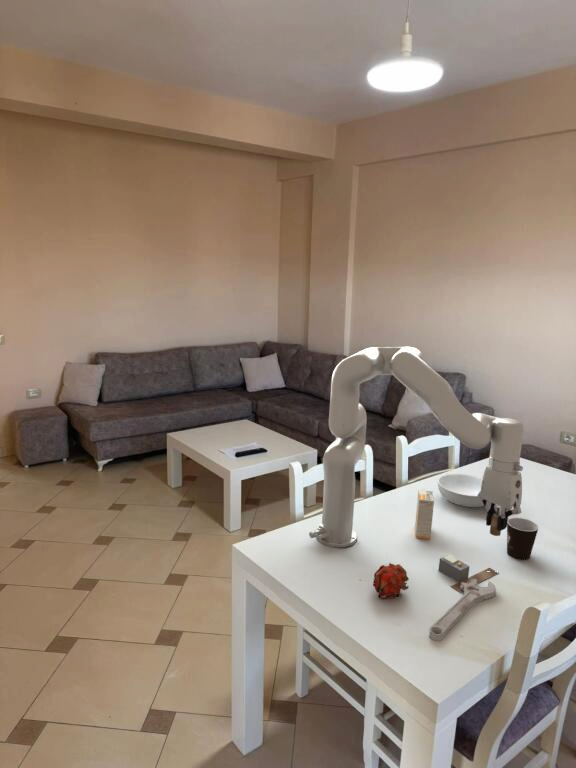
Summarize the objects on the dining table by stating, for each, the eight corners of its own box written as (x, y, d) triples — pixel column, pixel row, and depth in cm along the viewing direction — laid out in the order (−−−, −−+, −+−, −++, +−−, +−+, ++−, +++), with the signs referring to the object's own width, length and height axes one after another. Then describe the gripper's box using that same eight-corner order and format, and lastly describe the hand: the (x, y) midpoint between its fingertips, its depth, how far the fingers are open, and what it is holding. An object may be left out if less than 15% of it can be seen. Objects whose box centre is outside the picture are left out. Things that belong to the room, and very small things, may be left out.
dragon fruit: (404, 589, 146) (380, 615, 138) (382, 564, 149) (357, 588, 140) (421, 575, 140) (397, 602, 132) (398, 549, 143) (373, 574, 135)
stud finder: (458, 583, 147) (460, 568, 146) (438, 571, 153) (439, 556, 152) (467, 579, 149) (469, 564, 148) (447, 567, 155) (449, 552, 154)
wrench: (417, 624, 126) (470, 572, 148) (416, 631, 127) (469, 578, 149) (449, 641, 121) (499, 585, 143) (448, 648, 122) (498, 591, 144)
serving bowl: (500, 498, 201) (503, 481, 200) (487, 520, 184) (490, 501, 183) (445, 485, 212) (447, 468, 211) (428, 504, 195) (430, 486, 193)
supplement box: (430, 539, 169) (434, 501, 166) (415, 537, 170) (418, 499, 167) (429, 527, 177) (433, 490, 174) (414, 525, 178) (418, 488, 175)
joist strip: (459, 592, 143) (459, 591, 143) (450, 586, 145) (450, 586, 145) (498, 573, 152) (498, 572, 152) (489, 568, 155) (489, 567, 154)
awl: (496, 536, 148) (499, 511, 146) (487, 532, 150) (490, 507, 148) (502, 534, 149) (505, 508, 147) (493, 529, 151) (496, 505, 150)
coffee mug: (531, 565, 157) (536, 534, 154) (500, 556, 161) (504, 525, 159) (537, 548, 166) (541, 518, 164) (507, 540, 171) (511, 511, 168)
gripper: (539, 471, 141) (530, 535, 145) (486, 452, 153) (479, 512, 158) (523, 477, 136) (514, 543, 140) (469, 457, 149) (462, 518, 153)
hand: (495, 526), depth 149 cm, fingers closed on awl, 2 cm apart
